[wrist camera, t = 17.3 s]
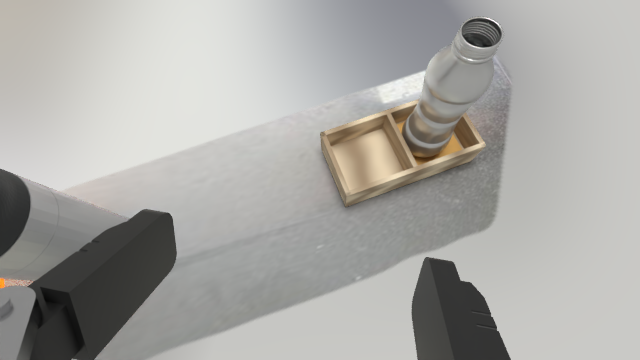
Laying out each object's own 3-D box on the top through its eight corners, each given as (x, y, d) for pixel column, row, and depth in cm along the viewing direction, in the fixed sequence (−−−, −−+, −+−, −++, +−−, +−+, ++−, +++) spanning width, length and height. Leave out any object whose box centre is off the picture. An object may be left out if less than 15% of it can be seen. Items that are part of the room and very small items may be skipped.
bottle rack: (345, 207, 44) (346, 196, 40) (321, 149, 48) (320, 132, 43) (472, 160, 46) (488, 144, 41) (441, 107, 49) (452, 87, 44)
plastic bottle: (388, 137, 46) (425, 27, 27) (424, 114, 47) (483, -8, 29) (417, 171, 44) (478, 76, 25) (454, 145, 45) (539, 37, 27)
